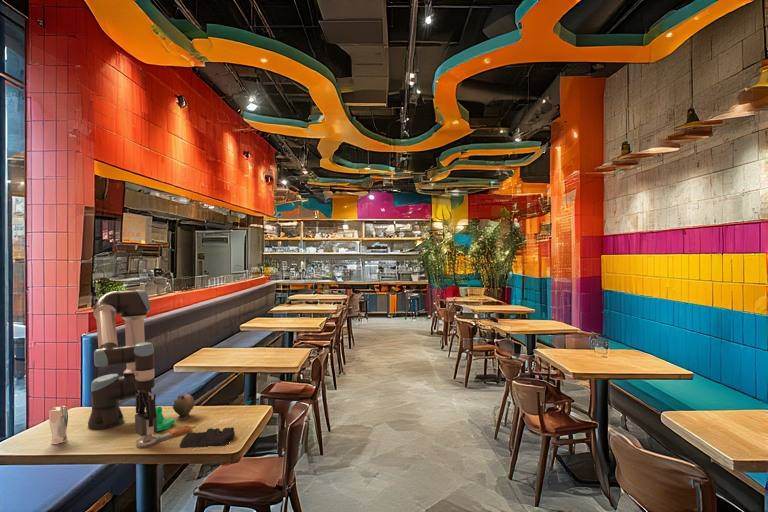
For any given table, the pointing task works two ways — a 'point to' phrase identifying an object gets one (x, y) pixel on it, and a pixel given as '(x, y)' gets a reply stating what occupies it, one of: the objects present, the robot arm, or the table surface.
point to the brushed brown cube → (143, 424)
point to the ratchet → (161, 437)
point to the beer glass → (58, 424)
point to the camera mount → (163, 420)
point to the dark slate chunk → (208, 438)
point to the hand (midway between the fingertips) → (146, 431)
